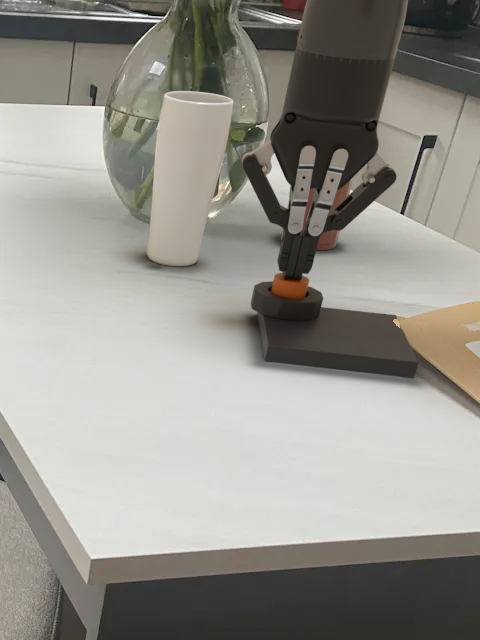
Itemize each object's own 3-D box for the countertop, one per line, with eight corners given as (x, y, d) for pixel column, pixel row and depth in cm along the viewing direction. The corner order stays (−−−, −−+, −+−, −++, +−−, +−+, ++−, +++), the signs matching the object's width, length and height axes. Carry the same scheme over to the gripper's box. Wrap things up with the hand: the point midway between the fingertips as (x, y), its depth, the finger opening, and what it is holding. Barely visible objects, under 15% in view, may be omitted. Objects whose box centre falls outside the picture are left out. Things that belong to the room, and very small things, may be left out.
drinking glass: (135, 249, 113) (159, 88, 104) (199, 253, 113) (228, 93, 104) (142, 268, 107) (167, 100, 98) (209, 272, 107) (240, 105, 98)
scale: (389, 327, 97) (399, 293, 95) (413, 379, 87) (425, 342, 85) (246, 311, 98) (253, 278, 96) (252, 360, 88) (260, 324, 86)
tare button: (303, 292, 95) (307, 274, 94) (306, 302, 93) (310, 284, 92) (269, 288, 95) (273, 270, 94) (271, 298, 93) (275, 280, 92)
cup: (332, 238, 121) (357, 141, 115) (338, 252, 116) (364, 152, 110) (278, 232, 121) (300, 136, 115) (282, 246, 117) (305, 146, 111)
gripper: (262, 45, 80) (216, 281, 91) (443, 62, 79) (374, 298, 89) (257, 35, 86) (214, 257, 97) (425, 49, 85) (363, 273, 95)
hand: (291, 276), depth 93 cm, fingers closed
